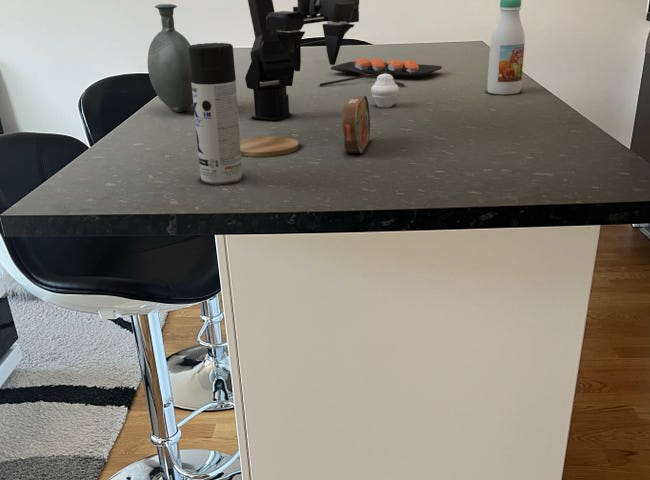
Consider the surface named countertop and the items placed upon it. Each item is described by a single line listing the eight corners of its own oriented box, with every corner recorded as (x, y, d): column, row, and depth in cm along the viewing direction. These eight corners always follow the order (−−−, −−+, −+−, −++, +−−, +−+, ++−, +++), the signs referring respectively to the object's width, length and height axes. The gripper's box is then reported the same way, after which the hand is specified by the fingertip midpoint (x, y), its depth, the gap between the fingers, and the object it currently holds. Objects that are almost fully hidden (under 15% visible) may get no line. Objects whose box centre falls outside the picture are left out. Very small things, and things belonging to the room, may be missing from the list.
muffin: (374, 109, 168) (375, 75, 165) (367, 104, 173) (367, 71, 170) (402, 107, 169) (402, 74, 166) (394, 102, 174) (394, 69, 171)
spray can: (202, 174, 126) (188, 43, 116) (243, 172, 126) (233, 41, 117) (199, 186, 120) (185, 48, 110) (243, 183, 120) (232, 46, 111)
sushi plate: (445, 73, 208) (446, 58, 206) (394, 91, 186) (394, 75, 184) (353, 67, 222) (352, 53, 220) (294, 84, 200) (293, 68, 198)
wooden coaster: (219, 153, 138) (219, 148, 138) (254, 138, 147) (254, 134, 147) (277, 159, 133) (277, 154, 133) (310, 143, 142) (310, 139, 142)
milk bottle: (483, 94, 180) (490, 0, 170) (490, 88, 186) (496, -3, 176) (517, 95, 177) (525, -1, 167) (522, 90, 183) (531, -3, 174)
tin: (358, 158, 132) (358, 107, 128) (340, 158, 132) (339, 107, 128) (371, 138, 145) (371, 91, 140) (354, 138, 145) (354, 91, 141)
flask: (207, 102, 181) (196, -1, 170) (200, 117, 166) (189, 5, 156) (157, 105, 181) (144, 1, 170) (146, 120, 166) (131, 8, 155)
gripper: (306, -22, 126) (309, 79, 133) (381, -28, 137) (380, 65, 145) (261, -23, 133) (267, 73, 140) (336, -29, 144) (337, 60, 152)
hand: (315, 67), depth 144 cm, fingers open, 9 cm apart
